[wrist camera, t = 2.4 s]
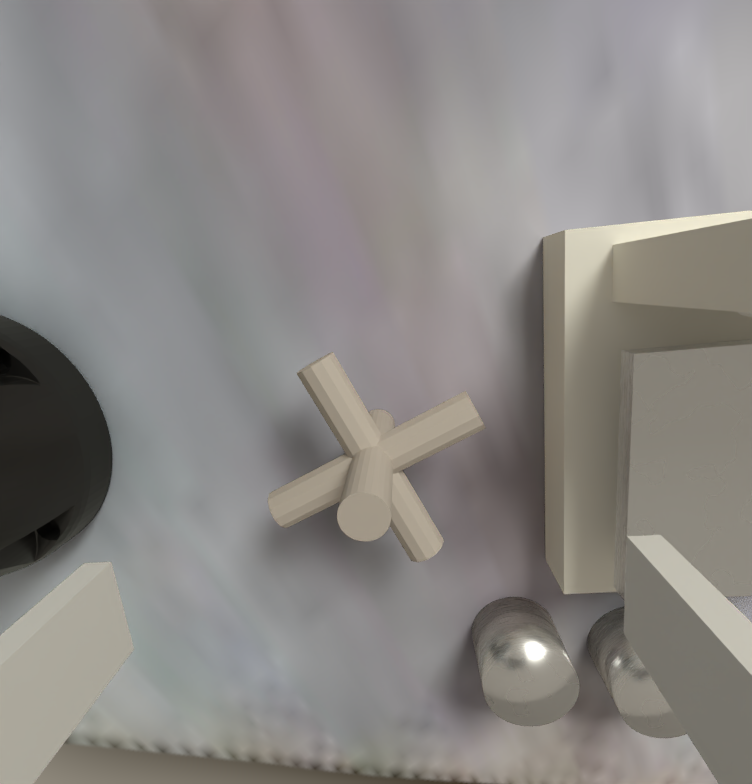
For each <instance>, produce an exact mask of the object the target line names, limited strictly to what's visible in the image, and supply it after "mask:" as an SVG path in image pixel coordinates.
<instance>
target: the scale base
mask: <svg viewBox="0 0 752 784" xmlns="http://www.w3.org/2000/svg"><path fill="white" fill-rule="evenodd" d="M543 311H544V438H545V559H546V561H547V563H548V565H549V567H550V569H551V571H552V573H553V575H554V576H555V578H556V580H557V582H558V584H559V586H560V588H561V590H562V592H563V594H582V593H604V592H617V590H616V589H615V587H614V558H615V528H616V498H617V468H618V437H619V407H620V377H621V350H630V349H641V348H653V347H665V346H677V345H689V344H701V343H712V342H724V341H736V340H748V339H752V211H742V212H733V213H723V214H714V215H704V216H695V217H685V218H676V219H666V220H657V221H647V222H638V223H628V224H619V225H609V226H600V227H590V228H581V229H571V230H564V231H561V232H558V233H555V234H552V235H549V236H546V237H543Z"/></svg>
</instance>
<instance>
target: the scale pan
mask: <svg viewBox="0 0 752 784" xmlns="http://www.w3.org/2000/svg"><path fill="white" fill-rule="evenodd" d="M645 535H661V536H662V537H663V538H664V539H665V540H667V541H668V542H669V543H670V544H671V545H672V546H673V547H674V548H675V549H676V550H677V551H678V552H679V553H680V554H681V555H682V556H683V557H684V558H685V559H686V560H687V561H688V562H689V563H690V564H691V565H692V566H694V567H695V568H696V569H697V570H698V571H699V572H700V573H701V574H702V575H703V576H704V577H705V578H706V579H707V580H708V581H709V582H710V583H711V584H712V585H713V586H714V587H715V588H716V589H717V590H718V591H719V592H720V593H722V594H723V595H724V596H725V597H735V596H752V339H748V340H736V341H724V342H712V343H701V344H689V345H677V346H665V347H653V348H641V349H630V350H621V377H620V407H619V437H618V468H617V498H616V528H615V558H614V587H615V589H616V590H617V592H618V593H619V594H620V596H621V597H622V599H623V600H624V601H625V581H626V554H627V536H645Z"/></svg>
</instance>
